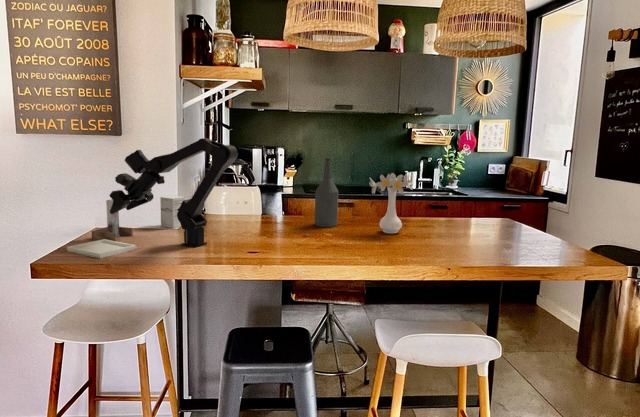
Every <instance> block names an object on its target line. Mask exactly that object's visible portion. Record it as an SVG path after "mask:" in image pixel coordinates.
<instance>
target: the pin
mask: <svg viewBox="0 0 640 417" xmlns="http://www.w3.org/2000/svg"><path fill="white" fill-rule="evenodd" d="M105 202H106V203H105V204H106V222H107V226H106V227H107V228H108V232H112V233H116V239H119V238H120V236H121V235H120V234H119V227H120V215H119V211H118V212H116V213H113V214H111V213H110V209H111V207H112V204H113V200H112V199H106V201H105Z"/></svg>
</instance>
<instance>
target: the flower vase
mask: <svg viewBox="0 0 640 417" xmlns="http://www.w3.org/2000/svg"><path fill="white" fill-rule="evenodd" d="M379 179H380V181H378V182H375V181H374V180H373V179H372V178H371V177H369V180H370V182H369V184H368V185H369V186H370V187H371V194H372V195H376V194H375V193H376V191H377V190H376V189H377V188H378V190H379V189H380V191H381V192H384V191H385V189H386V188H387V193H388V201H387V202H388V203H387V210H386V213H385V215H384V216H383V217H382V218H381V219H380V221H379V227H380V228H381V229H382V232H383V233H385V234H397V233H398V232H399V230H400V229H401V228H402V227H403V223H402V220H401V219H400V218H399V217H398V216H397V215H398V214H397V209H396V200H397V191H398V193H399V194H401V195H403V194H404V188H405V187H407V188H409V189H410V190H412V191H413V187H412V184H413V182H412V180H411V179H409V177H408V174H407V173H405V175H403V174H398V175H396V174H395V173H394V172H391V173H388V174H387V176H386V177H385V176H384V175H383V174H381V175H380V176H379Z"/></svg>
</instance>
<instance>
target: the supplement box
mask: <svg viewBox="0 0 640 417" xmlns="http://www.w3.org/2000/svg"><path fill="white" fill-rule="evenodd" d="M177 196H178V195H177ZM184 200H186V197H185V196H180V195H179V196H178V197H164V196H160V227H163V228H169V229H177V228H182V227H181V224H180V222H179V220H178V217H177V213H178V210H177V209H178V208H179V207H180V206H181V203H182V202H183V201H184Z"/></svg>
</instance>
